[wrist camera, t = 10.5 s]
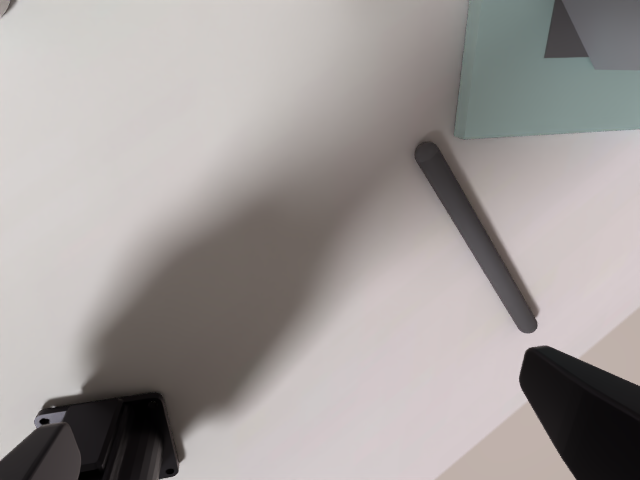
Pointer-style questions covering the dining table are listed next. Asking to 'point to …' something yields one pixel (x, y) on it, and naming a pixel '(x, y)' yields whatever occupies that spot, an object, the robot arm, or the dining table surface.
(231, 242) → the dining table surface
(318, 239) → the dining table surface
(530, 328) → the dark grey bar
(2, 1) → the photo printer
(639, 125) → the teal flat square slab
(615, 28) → the light grey rectangular block
